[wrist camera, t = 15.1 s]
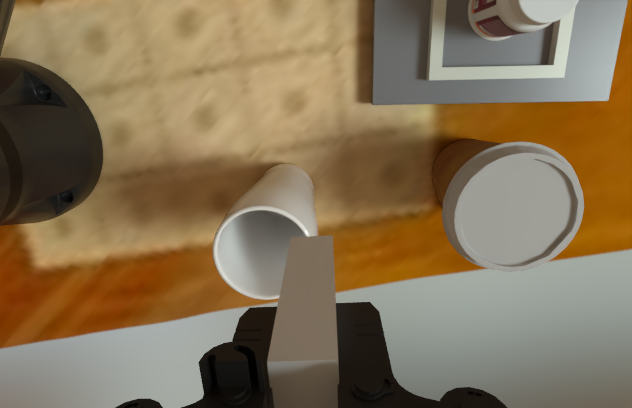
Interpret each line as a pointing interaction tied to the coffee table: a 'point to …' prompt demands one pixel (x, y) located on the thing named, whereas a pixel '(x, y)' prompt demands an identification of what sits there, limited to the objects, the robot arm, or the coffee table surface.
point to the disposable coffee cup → (507, 202)
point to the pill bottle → (517, 15)
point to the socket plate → (491, 55)
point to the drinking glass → (265, 231)
